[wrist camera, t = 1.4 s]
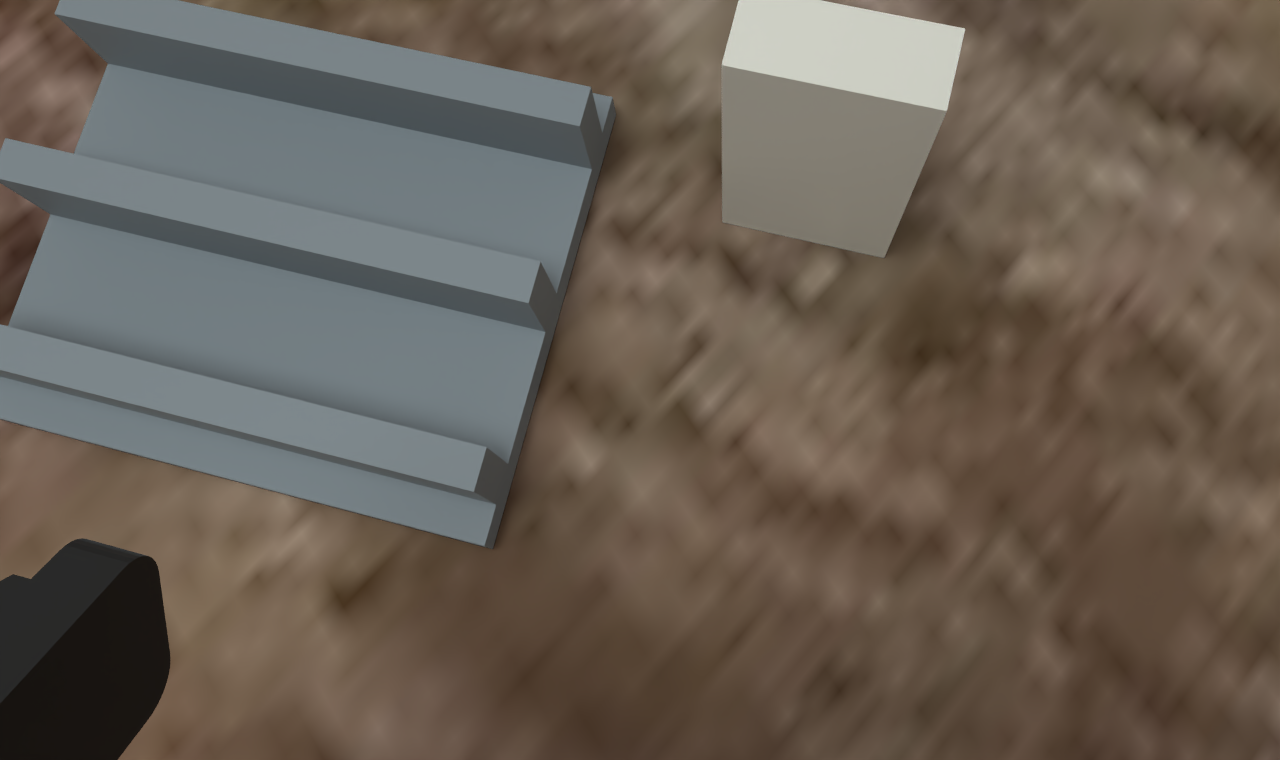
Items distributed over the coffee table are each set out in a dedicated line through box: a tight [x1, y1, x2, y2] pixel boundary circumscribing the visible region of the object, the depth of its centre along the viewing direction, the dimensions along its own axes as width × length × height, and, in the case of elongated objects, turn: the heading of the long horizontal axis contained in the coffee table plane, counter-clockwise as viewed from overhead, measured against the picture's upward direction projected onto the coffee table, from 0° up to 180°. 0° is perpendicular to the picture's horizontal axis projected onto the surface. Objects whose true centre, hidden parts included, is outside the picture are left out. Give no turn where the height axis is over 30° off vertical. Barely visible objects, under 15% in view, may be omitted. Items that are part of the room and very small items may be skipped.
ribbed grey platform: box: [0, 0, 616, 549], centre depth 34 cm, size 16×14×4 cm
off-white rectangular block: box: [722, 0, 965, 258], centre depth 30 cm, size 5×2×10 cm, turn 75°
